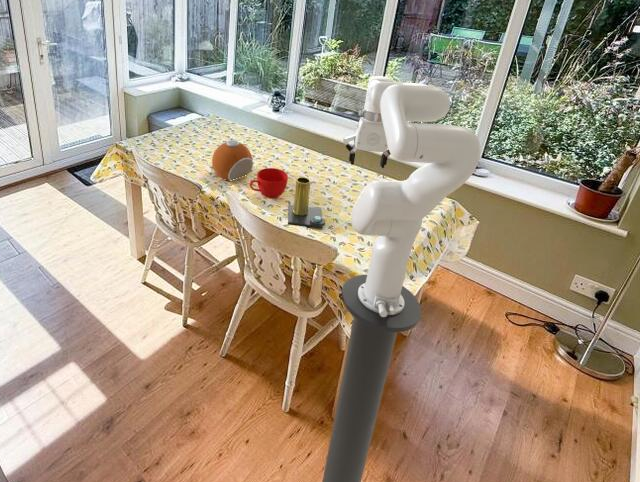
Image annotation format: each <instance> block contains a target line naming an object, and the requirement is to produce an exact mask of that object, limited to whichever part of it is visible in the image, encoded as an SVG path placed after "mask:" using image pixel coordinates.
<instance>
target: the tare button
mask: <svg viewBox="0 0 640 482" xmlns="http://www.w3.org/2000/svg"><path fill="white" fill-rule="evenodd" d="M322 218H323V217H322ZM322 218H321V217H320V216H315V218H314V221H315V222H321V219H322Z"/></svg>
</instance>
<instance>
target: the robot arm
mask: <svg viewBox="0 0 640 482" xmlns="http://www.w3.org/2000/svg"><path fill="white" fill-rule="evenodd" d="M450 108H451V99H450V96H449V95H448V93H447V92H446V91H444V89H442V88H440V87H438V86H434V85H431V84H423V83H417V82H416V83H415V82H403V81H402V82H401V81H394V79H393V78H391V77H388V76H382V75H381V76H380V75H377V76H376V75H375V76H371V77H370V78H369V79H368V82H367V87H366V95H365V99H364V108H363V109H362V110H358V112H357V113H358V116H361V117H359V121H358V123H357V127H356V130H355V134H352V135H349V136H346V137H343V140H342V141H343V143H344V145H345V148H346V149H347V151H349V154H348V155H349V156H348V162H350V165H351V166H353V165H354V164H355V159H356V152H357V151H358V150H359V151H364V152H365V151H366V152H375V153H382V154H381V157H380V162H379V165H380V167H381V168H382V169H384V168H385V166H387V162H388V158H389V157H390V156H391V157H392V158H394V159H395V160H397V161H400V162H403V163H404V162H405V163H421V164H423V163H424V165H423V166H420V167H418V168H416V170H414V171H413V172H412V173H411V174H410V175H409V177H408V178H406V180H405V179H404V180H388V179H387V180H386V179H385V180H384V179H382V180H381V179H380V180H379V179H377V180H373V181H370V182H368V183H367V184H366V185H365V186H364V188H363V190H362V191H361V193H360V194H359V196H358V197H357V198H356V200H355V202H354V204H353V205H352V208H351V213H350V223H351V227H352V228H353V230H354V231H355V232H356V233H358V234H360V235H361V236H362V235H363V236H371V237H376V238H375V239H374V241H373V243H372V247H371V248H372V249H371V253H370V258H369V263H368V268H367V273H366V275H367V278H366V283H364V284H362V285H361V286H360V287H359V289H358V297H359V299H360V301H361V302H362V303H363V305H365V306H366V307H367V308H369V309H370V310H372V311H374V312H376V313H379V314H380V316H381V317H386V316H387V315H395V314H398V313H400V312H401V311H402V310H403V308H404V304H405V302H404V299H403V297H402V295H401V290H402V286H403V287H404V281H405V277H406V274H407V273H406V272H407V270H408V269H407V267H408V264H409V260H410V256H411V252H412V248H413V245H414V243H415V242H416V241H415V240H416V238H417V236H419V233H420V232H421V231H420V230H421V228H422V224H423V219H424V218H426V217H427V216H428V215H429V214H431V212H432V211H434V209H435V208H437V206H438V205H440V204H441V203H442V202H443V201H444V199H446V197H448V196H449V195H452V193H454V192H455V191H456V190H458V189H459V188H461V187H462V186H463V185H464V184H465V183H466V182H467V181H468V180H469V179H470V178H471V177H472V175H473V174H474V172H475V170H476V168H477V167H478V164H479V161H480V157H481V156H480V155H481V142H480V139H479V137H478V136H477V134H476V133H475V132H474V131H472V130H471V129H469V128H466V127H463V126H459V125H453V124H446V123H445V124H443V123H442V124H441V123H429V122H436V121H439V120H441V119H442V118H444V117H445V116H446V115H447V113H449V111H450ZM351 141H352V142H353V145H350V142H351Z"/></svg>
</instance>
